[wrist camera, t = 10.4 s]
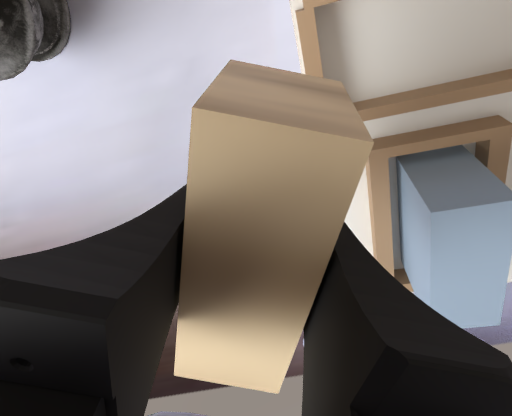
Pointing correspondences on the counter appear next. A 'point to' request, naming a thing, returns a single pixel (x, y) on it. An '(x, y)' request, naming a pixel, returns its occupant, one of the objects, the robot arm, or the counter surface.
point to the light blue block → (455, 234)
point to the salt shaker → (31, 33)
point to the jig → (413, 91)
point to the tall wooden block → (261, 218)
